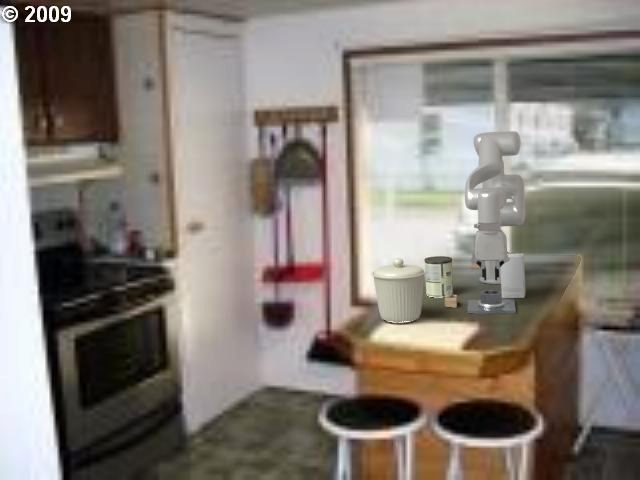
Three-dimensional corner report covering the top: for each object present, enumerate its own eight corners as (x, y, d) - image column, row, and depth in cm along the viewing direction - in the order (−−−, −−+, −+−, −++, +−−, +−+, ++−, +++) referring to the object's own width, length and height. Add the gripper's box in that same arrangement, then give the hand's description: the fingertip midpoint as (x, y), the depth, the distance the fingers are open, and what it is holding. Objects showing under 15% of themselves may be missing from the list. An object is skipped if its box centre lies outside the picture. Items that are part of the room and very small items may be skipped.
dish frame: (472, 260, 365) (472, 253, 364) (515, 259, 361) (515, 252, 360) (471, 268, 345) (471, 261, 344) (517, 268, 341) (517, 261, 340)
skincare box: (525, 294, 292) (525, 253, 290) (524, 298, 286) (523, 256, 284) (502, 294, 295) (501, 253, 293) (500, 298, 289) (499, 256, 287)
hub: (468, 302, 285) (468, 290, 285) (514, 302, 282) (513, 289, 281) (467, 313, 270) (467, 300, 269) (515, 313, 266) (515, 300, 266)
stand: (445, 303, 286) (445, 291, 285) (457, 303, 285) (456, 291, 285) (445, 307, 280) (444, 295, 279) (456, 307, 279) (456, 295, 278)
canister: (413, 329, 254) (411, 264, 251) (364, 324, 264) (361, 262, 261) (436, 315, 269) (434, 254, 266) (388, 311, 279) (386, 252, 276)
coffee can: (430, 291, 306) (428, 255, 304) (456, 292, 302) (455, 256, 299) (422, 297, 297) (420, 260, 294) (449, 299, 292) (447, 261, 290)
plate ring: (480, 299, 280) (480, 290, 279) (501, 299, 278) (501, 289, 278) (480, 304, 273) (480, 294, 272) (502, 304, 271) (501, 294, 271)
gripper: (464, 229, 270) (466, 282, 272) (514, 228, 266) (515, 281, 269) (465, 226, 277) (466, 277, 280) (513, 224, 273) (514, 277, 276)
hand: (490, 279), depth 274 cm, fingers open, 3 cm apart
